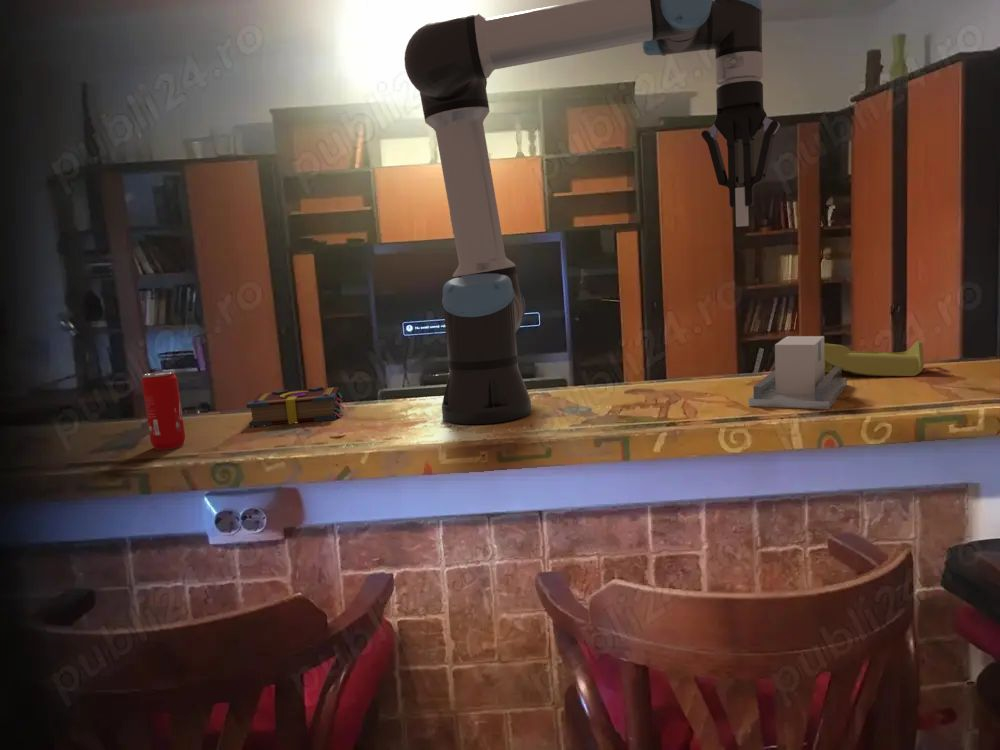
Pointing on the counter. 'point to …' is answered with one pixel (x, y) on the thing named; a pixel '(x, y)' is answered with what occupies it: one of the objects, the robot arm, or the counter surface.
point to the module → (799, 364)
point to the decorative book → (295, 406)
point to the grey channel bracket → (821, 400)
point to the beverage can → (163, 410)
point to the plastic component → (875, 361)
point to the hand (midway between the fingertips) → (742, 226)
